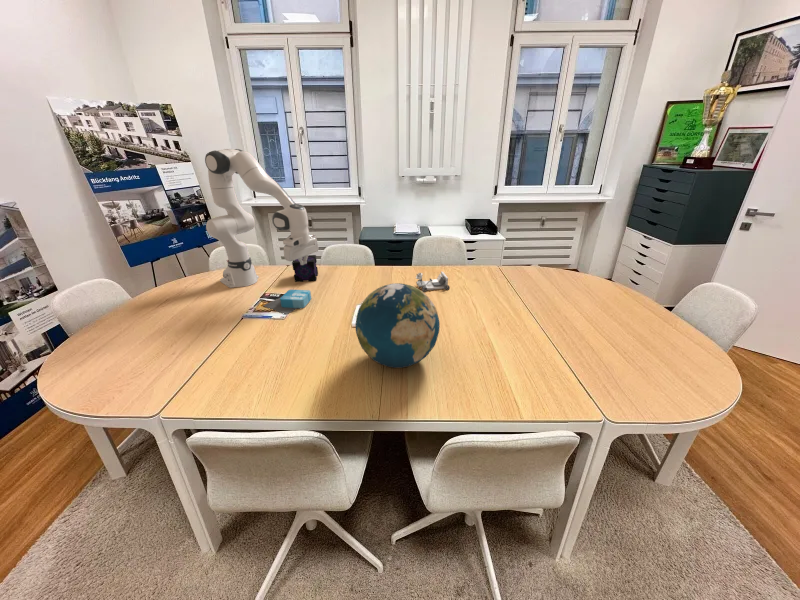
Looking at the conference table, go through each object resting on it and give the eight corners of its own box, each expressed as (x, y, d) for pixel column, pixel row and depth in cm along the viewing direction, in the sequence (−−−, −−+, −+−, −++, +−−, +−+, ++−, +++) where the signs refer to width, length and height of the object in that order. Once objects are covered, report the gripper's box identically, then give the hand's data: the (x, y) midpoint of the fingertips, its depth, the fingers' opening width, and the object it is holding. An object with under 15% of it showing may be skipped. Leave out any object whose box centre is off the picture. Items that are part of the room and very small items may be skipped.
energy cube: (298, 274, 212) (295, 255, 206) (318, 273, 213) (315, 254, 208) (295, 282, 201) (291, 262, 196) (316, 281, 202) (313, 261, 197)
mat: (263, 306, 173) (262, 305, 173) (283, 296, 183) (283, 296, 183) (286, 314, 165) (286, 313, 165) (306, 304, 174) (306, 303, 174)
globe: (363, 338, 145) (359, 271, 132) (435, 338, 144) (438, 271, 131) (352, 385, 118) (345, 306, 105) (440, 386, 117) (444, 306, 104)
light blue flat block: (311, 290, 178) (302, 300, 167) (312, 298, 180) (303, 308, 169) (289, 289, 179) (278, 299, 169) (290, 297, 181) (280, 307, 171)
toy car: (417, 276, 182) (412, 268, 192) (417, 293, 186) (412, 284, 196) (450, 273, 185) (444, 266, 195) (449, 290, 189) (443, 282, 199)
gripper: (311, 232, 182) (313, 257, 188) (280, 242, 166) (284, 268, 173) (320, 234, 179) (322, 259, 185) (289, 244, 163) (292, 271, 170)
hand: (303, 264), depth 179 cm, fingers closed
